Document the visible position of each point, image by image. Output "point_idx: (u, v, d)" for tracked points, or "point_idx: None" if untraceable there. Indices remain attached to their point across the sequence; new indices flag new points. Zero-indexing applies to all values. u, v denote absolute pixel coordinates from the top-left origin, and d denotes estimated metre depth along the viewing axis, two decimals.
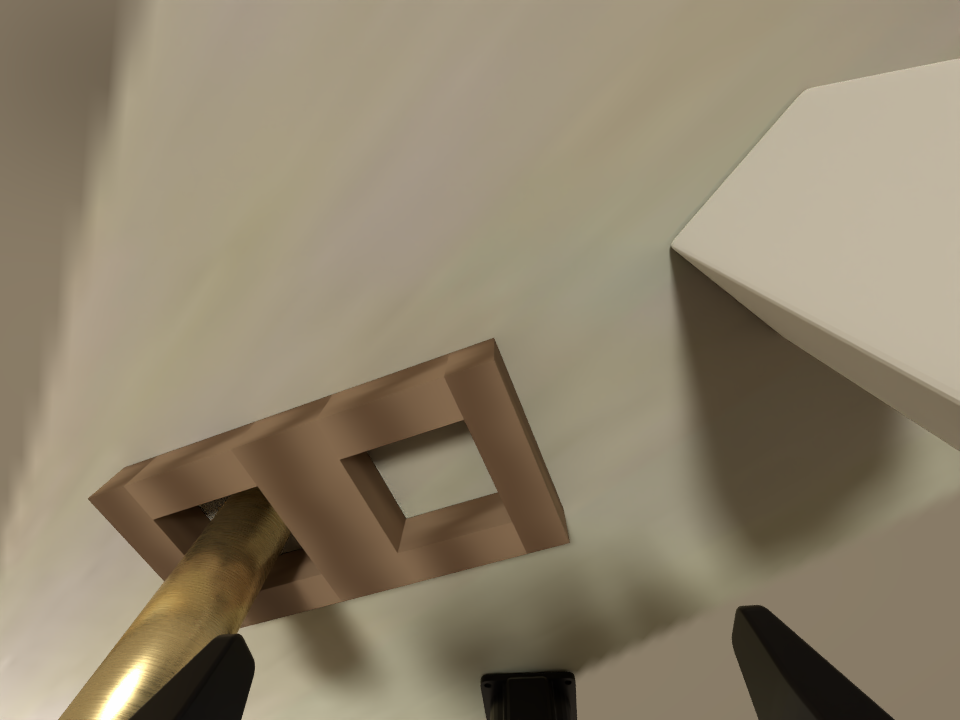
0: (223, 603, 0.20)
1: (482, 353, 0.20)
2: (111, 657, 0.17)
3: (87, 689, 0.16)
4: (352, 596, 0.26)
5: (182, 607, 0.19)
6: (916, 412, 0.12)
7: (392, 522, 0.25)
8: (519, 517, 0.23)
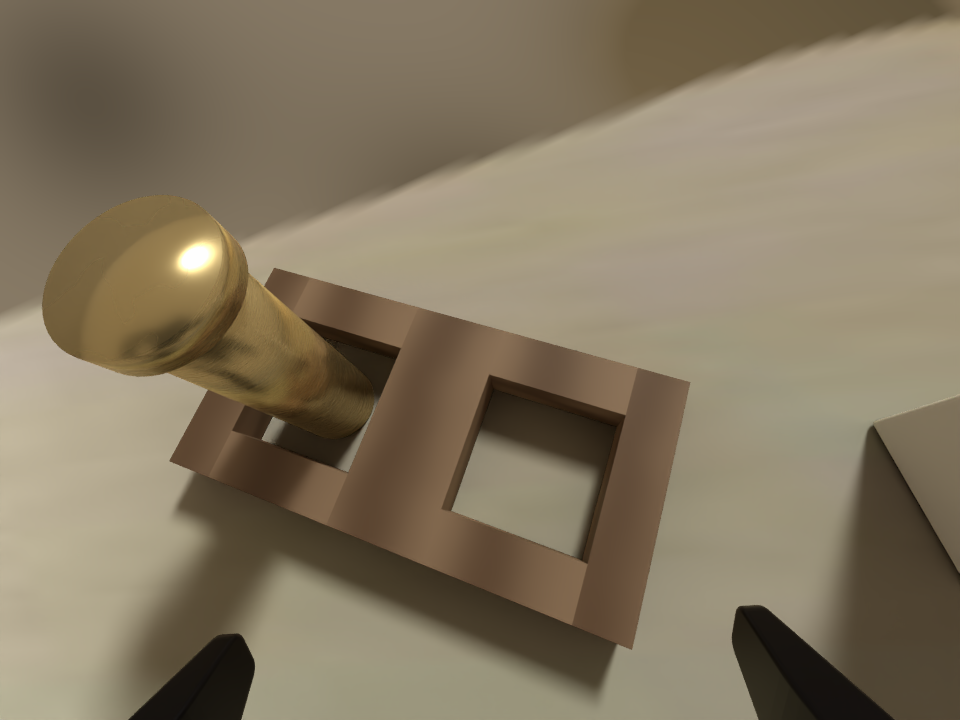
0: (318, 363, 0.18)
1: None
2: None
3: None
4: (343, 527, 0.20)
5: (305, 325, 0.18)
6: None
7: (454, 486, 0.21)
8: (599, 564, 0.18)
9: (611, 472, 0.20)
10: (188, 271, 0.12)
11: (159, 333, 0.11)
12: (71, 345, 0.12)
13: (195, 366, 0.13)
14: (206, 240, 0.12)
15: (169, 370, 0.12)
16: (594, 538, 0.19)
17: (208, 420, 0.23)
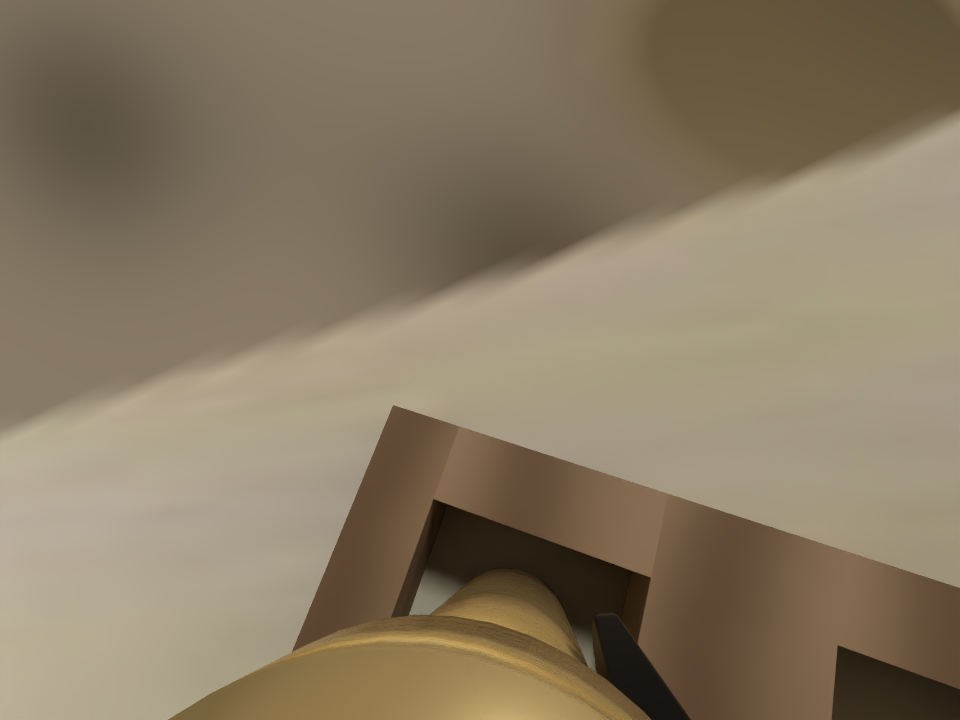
0: None
1: None
2: (505, 626, 0.06)
3: None
4: None
5: (583, 660, 0.08)
6: None
7: None
8: None
9: None
10: None
11: None
12: None
13: None
14: None
15: None
16: None
17: None
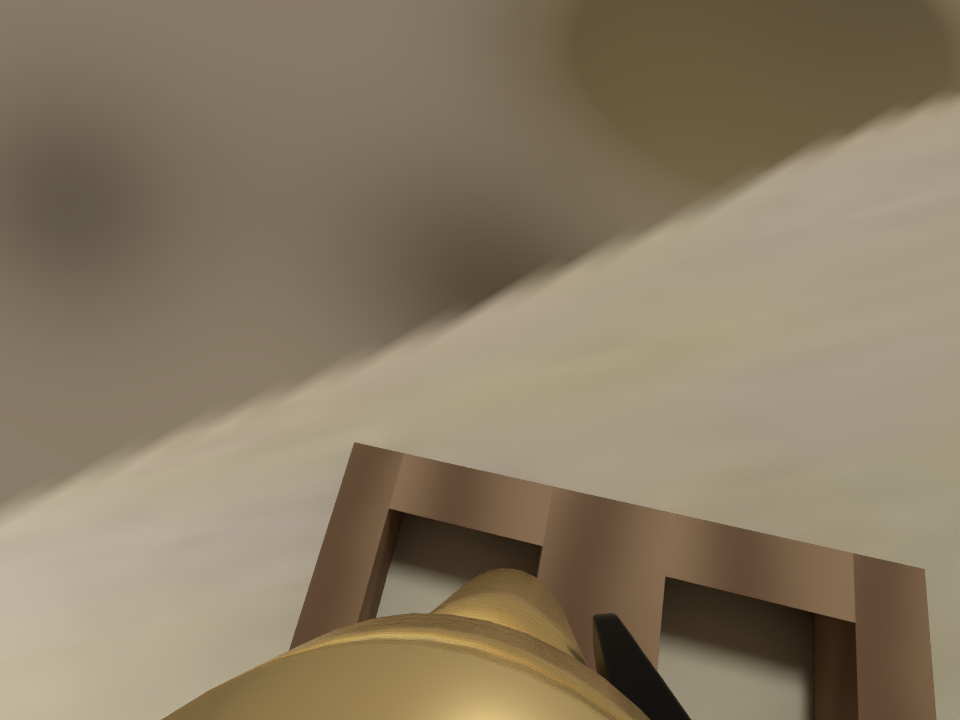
0: None
1: None
2: (504, 625, 0.06)
3: None
4: None
5: (581, 659, 0.08)
6: None
7: None
8: None
9: (857, 708, 0.15)
10: None
11: None
12: None
13: None
14: None
15: None
16: None
17: None
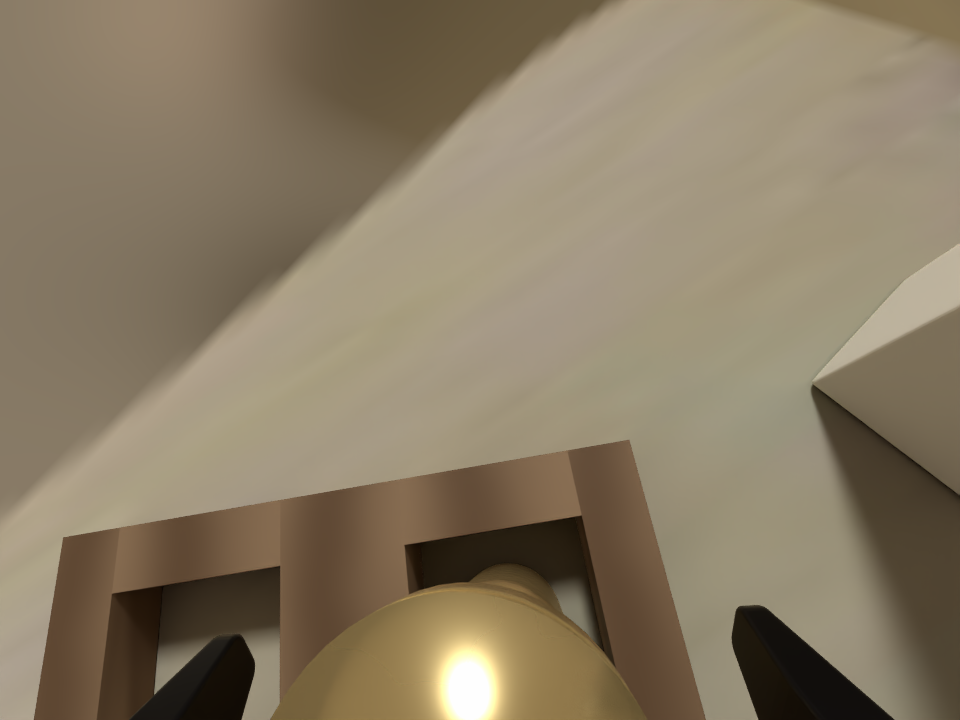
0: None
1: None
2: None
3: None
4: None
5: None
6: None
7: None
8: None
9: (600, 596, 0.15)
10: None
11: None
12: None
13: None
14: None
15: None
16: None
17: None
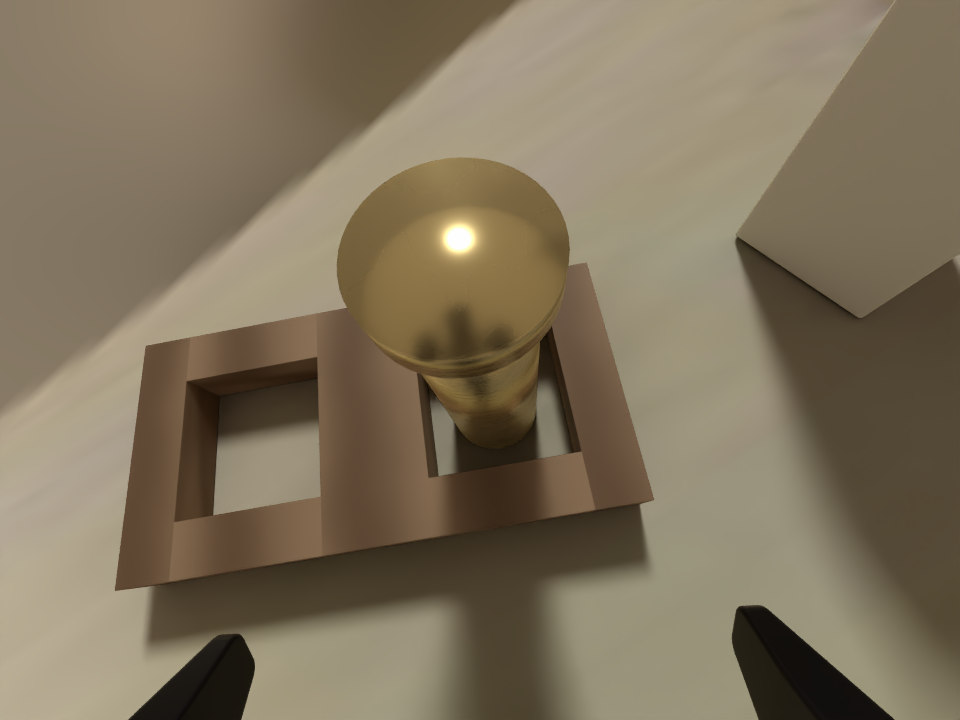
0: (538, 364, 0.16)
1: None
2: None
3: None
4: (341, 547, 0.18)
5: None
6: None
7: (430, 455, 0.20)
8: (591, 445, 0.19)
9: (561, 366, 0.20)
10: (527, 247, 0.10)
11: (513, 323, 0.09)
12: (395, 339, 0.09)
13: None
14: (540, 210, 0.10)
15: (492, 370, 0.10)
16: (576, 427, 0.19)
17: (142, 525, 0.20)
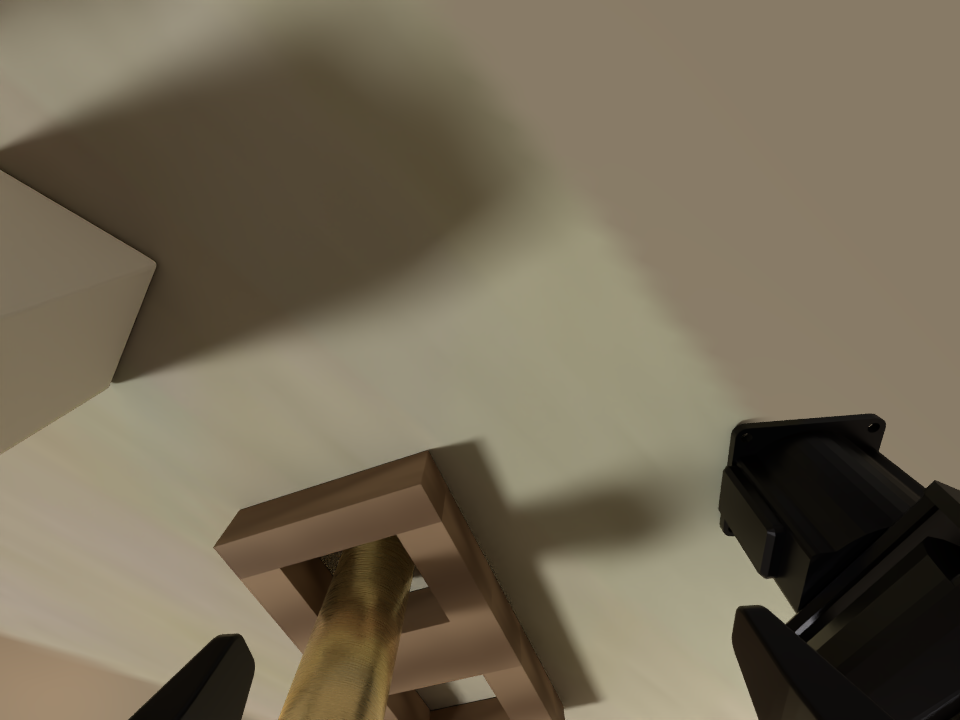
0: (330, 654, 0.19)
1: None
2: None
3: None
4: (513, 658, 0.25)
5: (295, 683, 0.18)
6: None
7: (433, 607, 0.25)
8: (389, 528, 0.21)
9: (325, 553, 0.22)
10: None
11: None
12: None
13: None
14: None
15: None
16: (377, 538, 0.22)
17: None
